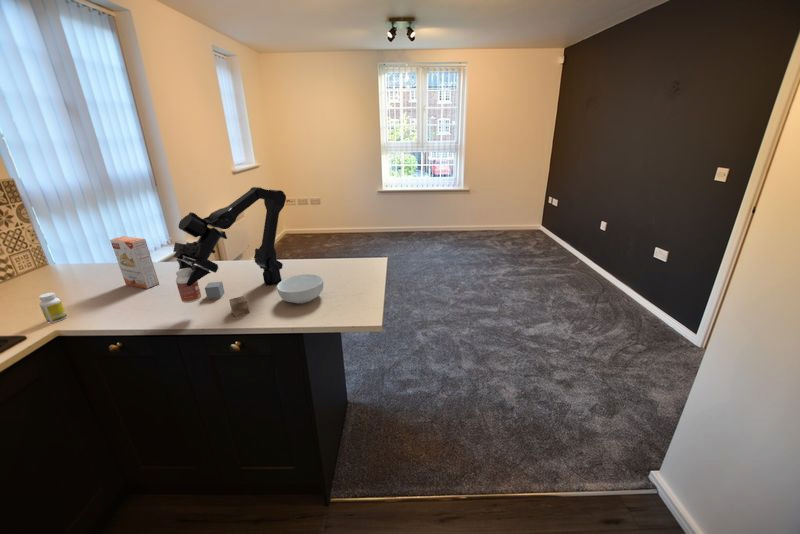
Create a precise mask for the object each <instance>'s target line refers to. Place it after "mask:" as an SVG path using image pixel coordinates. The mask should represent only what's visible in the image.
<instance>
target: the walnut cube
mask: <svg viewBox="0 0 800 534" xmlns="http://www.w3.org/2000/svg"><path fill="white" fill-rule="evenodd" d="M228 300H229V305H230V308H231V309H230V310H231V312H232V315H233V316H235V318H237V317H240V316H244V315H246V314H250V308H249V303H248V300H247V299H246V297H245V295H241V296H238V297H234V298H230V299H228ZM243 314H244V315H243ZM236 316H237V317H236Z"/></svg>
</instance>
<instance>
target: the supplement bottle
mask: <svg viewBox="0 0 800 534" xmlns="http://www.w3.org/2000/svg"><path fill="white" fill-rule="evenodd" d="M38 297H39V300H40V303H39V307H40V309H41V312H42V314H43V316H44V318H45V321H46V322H47V323H48V322H54V323H58V322H62V321H63V320H66V318H67V317H68V315H67V313H66V310H65V308H64V306H63V303H62V301H61V299H60V298H58V297H57V296H56V294H55V292H47V293H46V292H45V293H44V294H43V293H42V294H40V295H39V296H38Z"/></svg>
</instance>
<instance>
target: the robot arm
mask: <svg viewBox="0 0 800 534" xmlns="http://www.w3.org/2000/svg"><path fill="white" fill-rule="evenodd" d="M260 199H261V200H263V201H264V202H263V203H264V204H263V205H264V207H265V210H266V214H265V220H264V226H263V233H262V242H261V244H260V247H259V248H255V250H254V257H253V259H254V263H255V264H256V265H257V266H258V267H259V268H260V269H262V270H263V272H262V277H263V281H264V282H263V283H265V286H272V285H278V284H279V283H280V282H281V281H282V280H283V279H282V276H281V270H282V269H283V266H284V265H283V263H282V262H281V261H279V260H278V259H277V256H278V255H277V252H276V249H275V244H276V237H277V231H278V230H277V229H278V225H279V224H278V222H279V216H280V212H281V211H282V210H283V209H284V207H285V203H286V200H287V195H286V194H285V192H284V191H283V190H281V189H280V190H278V189H267V188H263V187H259V186H252V187H250V189H249V190H248V191H247V192H245V193H244V194H241V196H240V197H238V198H237V199H236V200H234V201H233V202H231V203H230V204H229V205H227V206H225V207H222V208H218V209H217V210H215V211H213V212H211V213H210V214H209V215H208V216H206V217H204V218H202V217H200V216H199V215H198V214H196V213H194V212H189V213H188V214H187V215H185V216H184V217H182V219H180V221H179V223H178V229H179V230H180V231H183V232H185V233H187V234H188V235H189V236H192V237H193V238H198V237H199V238H198V239H197V241H193V242H188V241H187V242H186V243H181V242H174V246H173V253H174V255H173V258H175V259H176V261H177V262H178V270H179V269H183V268H191V269H192V273H191V275H190V277H189V279H188V282H187V284H186V285H187V286H191V285H192V284H194V283H195V282H196V281H199V280H200V279H202V278H203V277H205V276H207V275H209V274H211V273H217V272H218V270H219V265H218V264H217V263H215V262H213V261H212V260H210V259H209V258H210V257H211V255H212V254H215V253H216V250H215V247H216V246H217V244H218V242H219V241H220V239H223V240H227V239H228V237H227V234H226V231H224V230H228V229H230V228H231V227H232V226H233V224H234V223H235V222H236V221H237V218H238V217H239V215H241V214H242V213H243V212H245V211H246V210H247V209H248V208H250V207H251V206H252V205H253V204H255V203H256V202H257V201H259V200H260ZM211 227H212V228H211ZM218 229H221V230H218Z"/></svg>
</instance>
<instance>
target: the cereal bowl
mask: <svg viewBox="0 0 800 534" xmlns="http://www.w3.org/2000/svg"><path fill="white" fill-rule="evenodd" d="M276 289H277V292H278V295H279V297H280V298H281V299H282V300H283V301H285V302H289V303H295V304H299V303H300V304H307V303H309V302H311V301H313V299H316V298H317V297H319V296H320V295H321V293H322V292H323V290H324V279H323V277H322V276H320V275H317V274H313V273H304V274H296V275H292V276H289V277H286V278H285V279H282V281H281V282H280V283H279V284H276ZM306 302H307V303H306Z"/></svg>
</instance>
